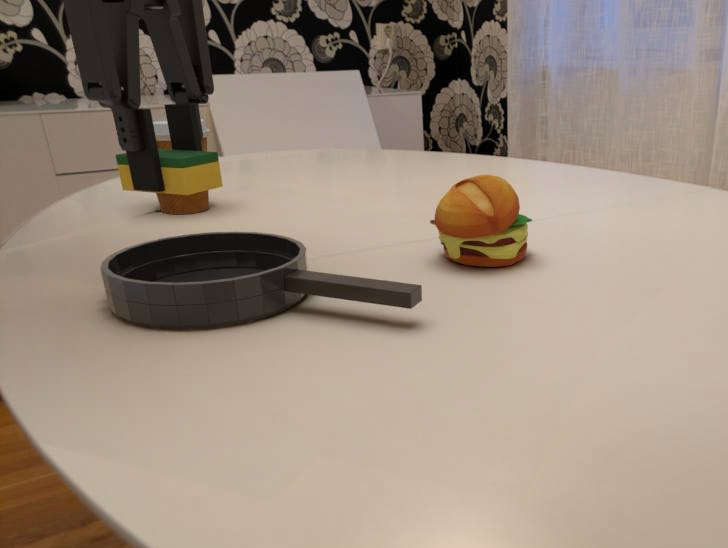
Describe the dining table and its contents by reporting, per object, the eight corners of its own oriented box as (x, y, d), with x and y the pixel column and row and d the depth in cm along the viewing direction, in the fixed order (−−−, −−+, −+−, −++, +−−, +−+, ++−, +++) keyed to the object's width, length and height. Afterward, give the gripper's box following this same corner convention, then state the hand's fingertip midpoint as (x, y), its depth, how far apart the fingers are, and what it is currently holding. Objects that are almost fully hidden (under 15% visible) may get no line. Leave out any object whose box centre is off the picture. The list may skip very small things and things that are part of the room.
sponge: (122, 190, 59) (114, 154, 57) (161, 182, 62) (154, 148, 61) (187, 195, 56) (180, 158, 55) (223, 186, 60) (217, 151, 59)
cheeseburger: (548, 251, 77) (544, 167, 71) (504, 298, 70) (496, 209, 64) (472, 238, 81) (463, 158, 75) (424, 280, 74) (409, 196, 68)
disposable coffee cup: (191, 200, 102) (177, 116, 97) (235, 207, 97) (222, 120, 92) (134, 211, 94) (115, 121, 89) (178, 220, 90) (161, 125, 85)
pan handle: (284, 291, 58) (282, 276, 57) (299, 284, 60) (297, 269, 59) (411, 309, 54) (410, 292, 54) (422, 300, 56) (422, 284, 56)
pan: (64, 315, 57) (52, 270, 56) (203, 262, 72) (197, 225, 71) (230, 343, 52) (223, 295, 51) (343, 280, 67) (340, 241, 65)
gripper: (45, -177, 41) (126, 207, 51) (232, -114, 56) (268, 172, 66) (-42, -165, 43) (52, 200, 53) (161, -108, 58) (205, 168, 68)
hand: (171, 184), depth 59 cm, fingers closed on sponge, 4 cm apart
